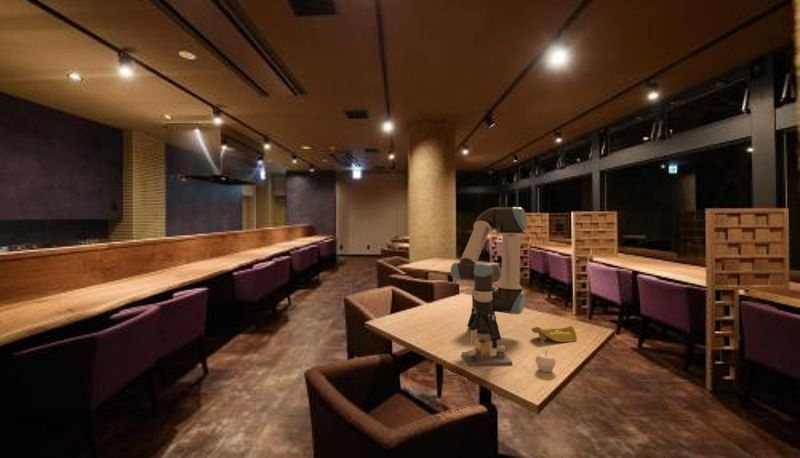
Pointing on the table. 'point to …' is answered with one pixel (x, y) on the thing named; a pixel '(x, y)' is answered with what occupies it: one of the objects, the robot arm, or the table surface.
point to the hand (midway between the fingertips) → (483, 350)
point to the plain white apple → (545, 362)
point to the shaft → (472, 355)
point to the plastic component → (557, 334)
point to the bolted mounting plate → (491, 359)
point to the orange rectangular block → (482, 348)
